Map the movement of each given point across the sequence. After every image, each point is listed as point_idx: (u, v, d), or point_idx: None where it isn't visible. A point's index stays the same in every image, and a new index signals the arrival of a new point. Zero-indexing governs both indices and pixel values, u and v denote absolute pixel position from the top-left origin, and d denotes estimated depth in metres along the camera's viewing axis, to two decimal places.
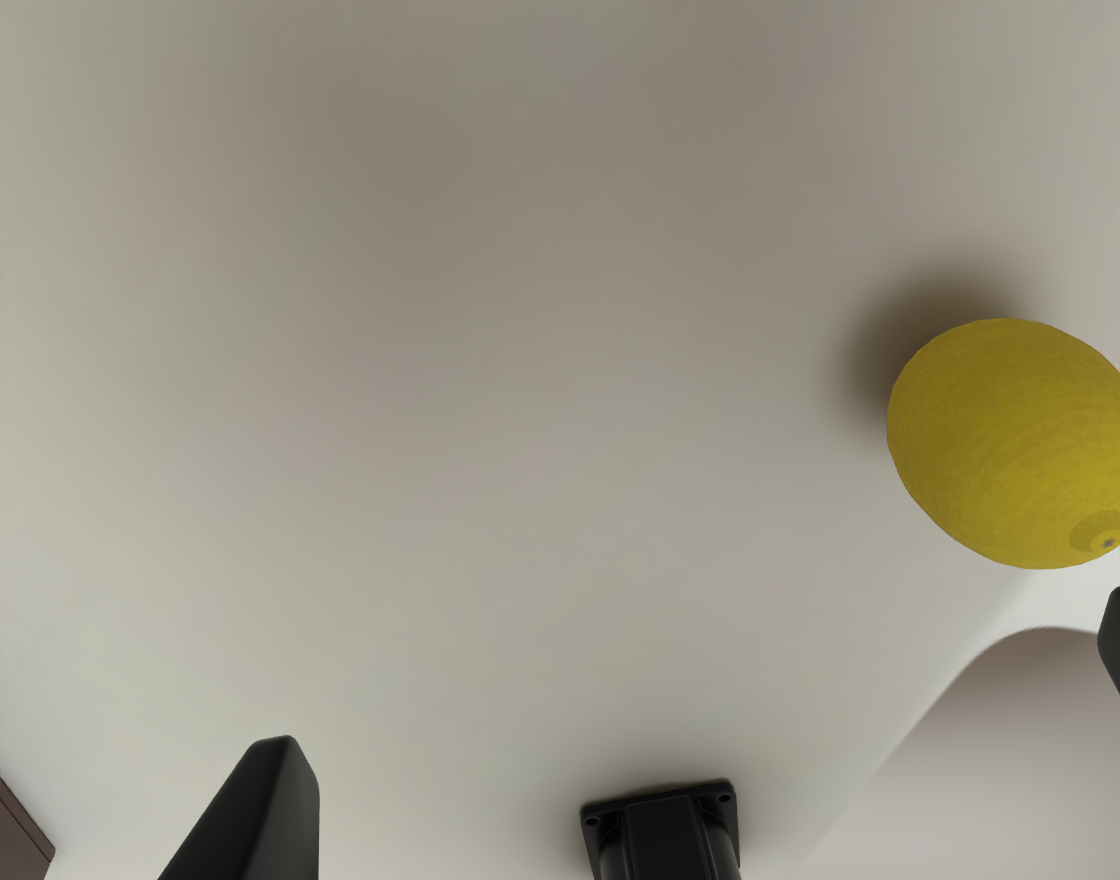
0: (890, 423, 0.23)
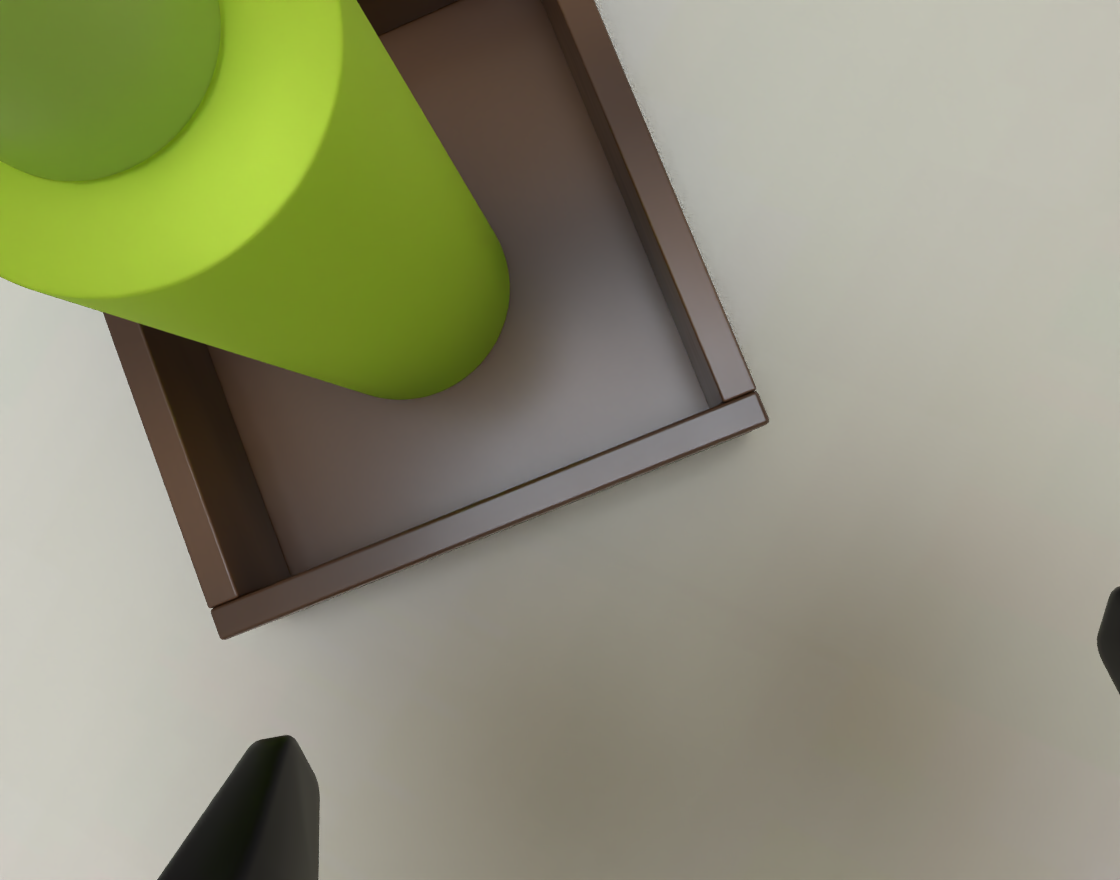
0: None
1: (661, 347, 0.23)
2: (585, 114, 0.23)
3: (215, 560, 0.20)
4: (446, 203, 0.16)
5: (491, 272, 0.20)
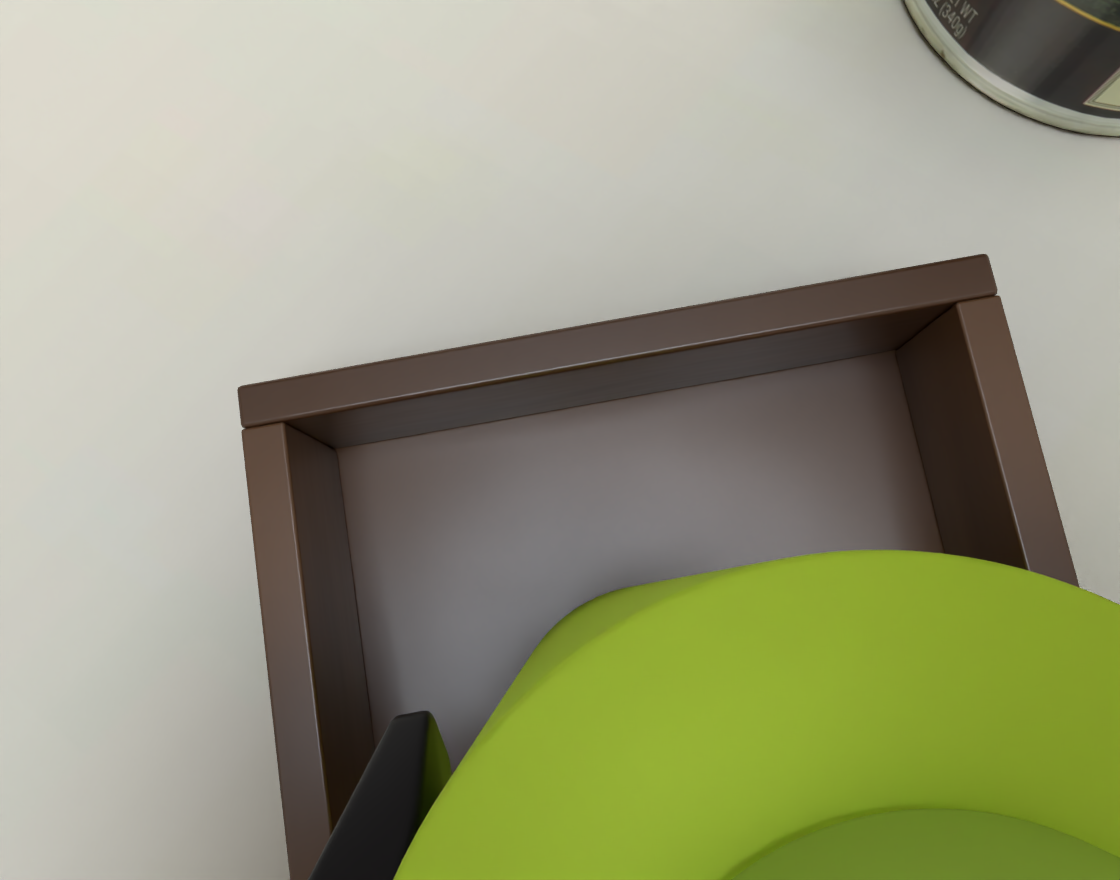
0: None
1: None
2: None
3: None
4: None
5: None
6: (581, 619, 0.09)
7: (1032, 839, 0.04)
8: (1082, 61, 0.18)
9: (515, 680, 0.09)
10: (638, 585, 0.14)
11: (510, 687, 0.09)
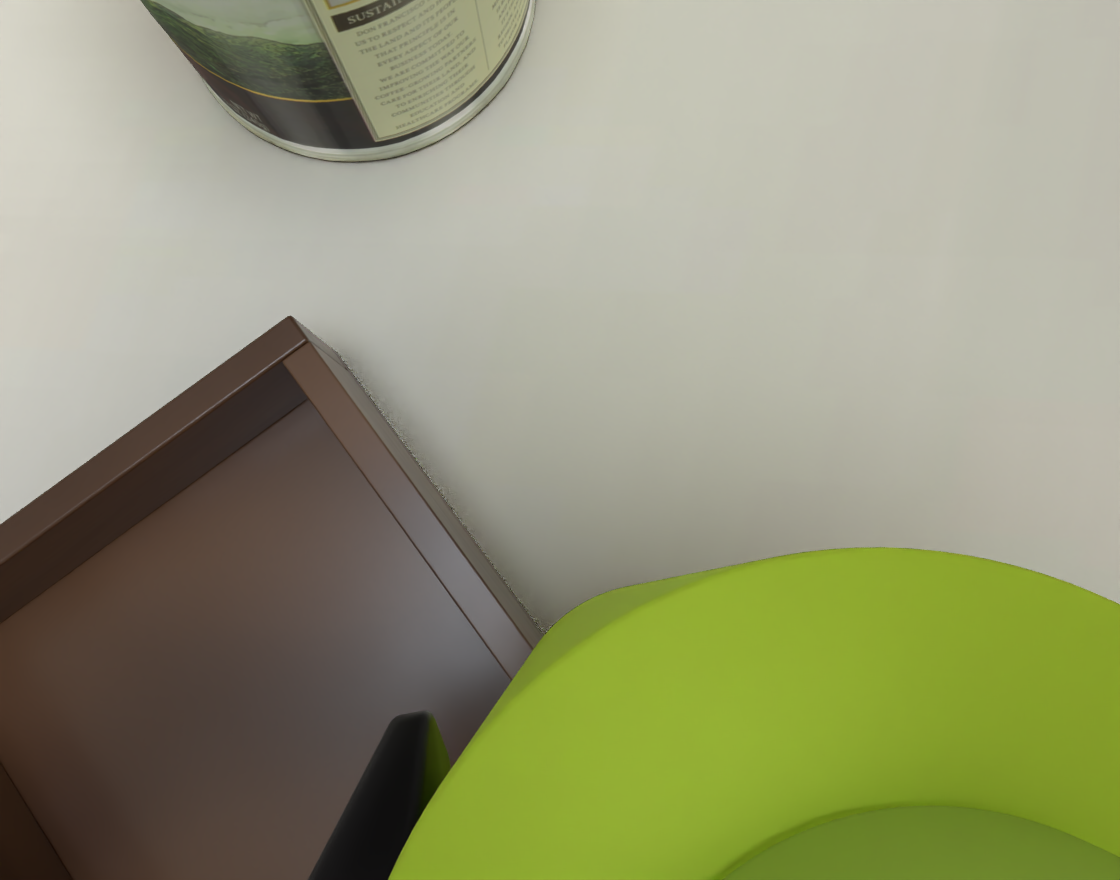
0: None
1: None
2: None
3: None
4: None
5: None
6: (579, 618, 0.09)
7: (1025, 837, 0.04)
8: (337, 123, 0.22)
9: (513, 679, 0.09)
10: None
11: (508, 686, 0.09)
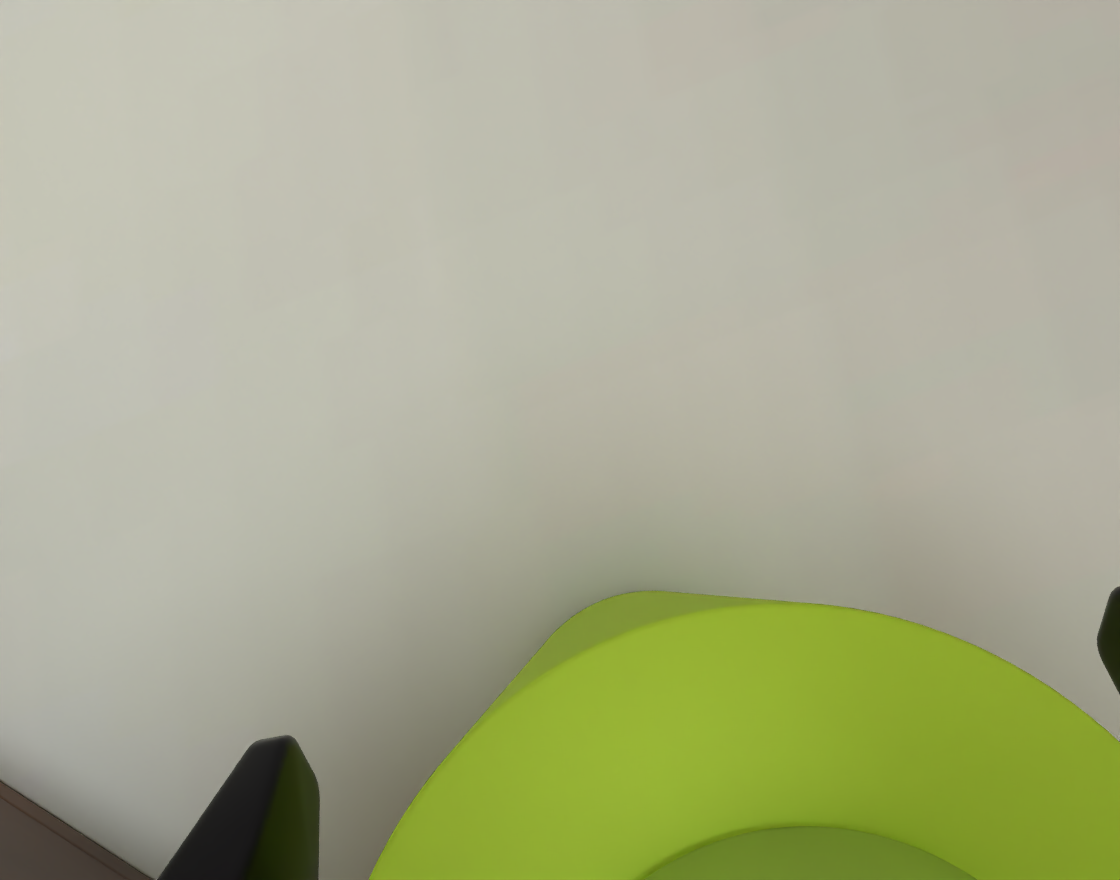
0: None
1: None
2: None
3: None
4: None
5: None
6: (561, 638, 0.10)
7: (869, 855, 0.04)
8: None
9: None
10: (630, 596, 0.15)
11: None
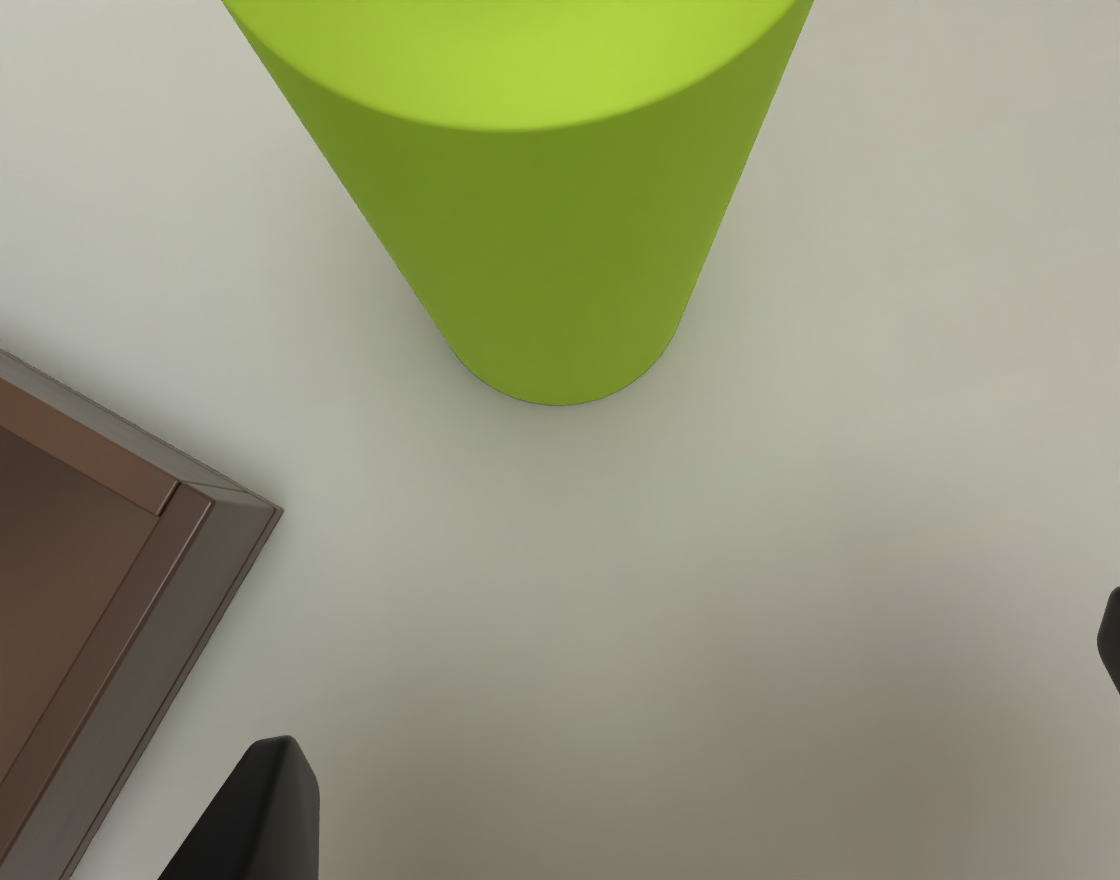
0: None
1: None
2: None
3: None
4: None
5: None
6: None
7: None
8: None
9: None
10: None
11: None
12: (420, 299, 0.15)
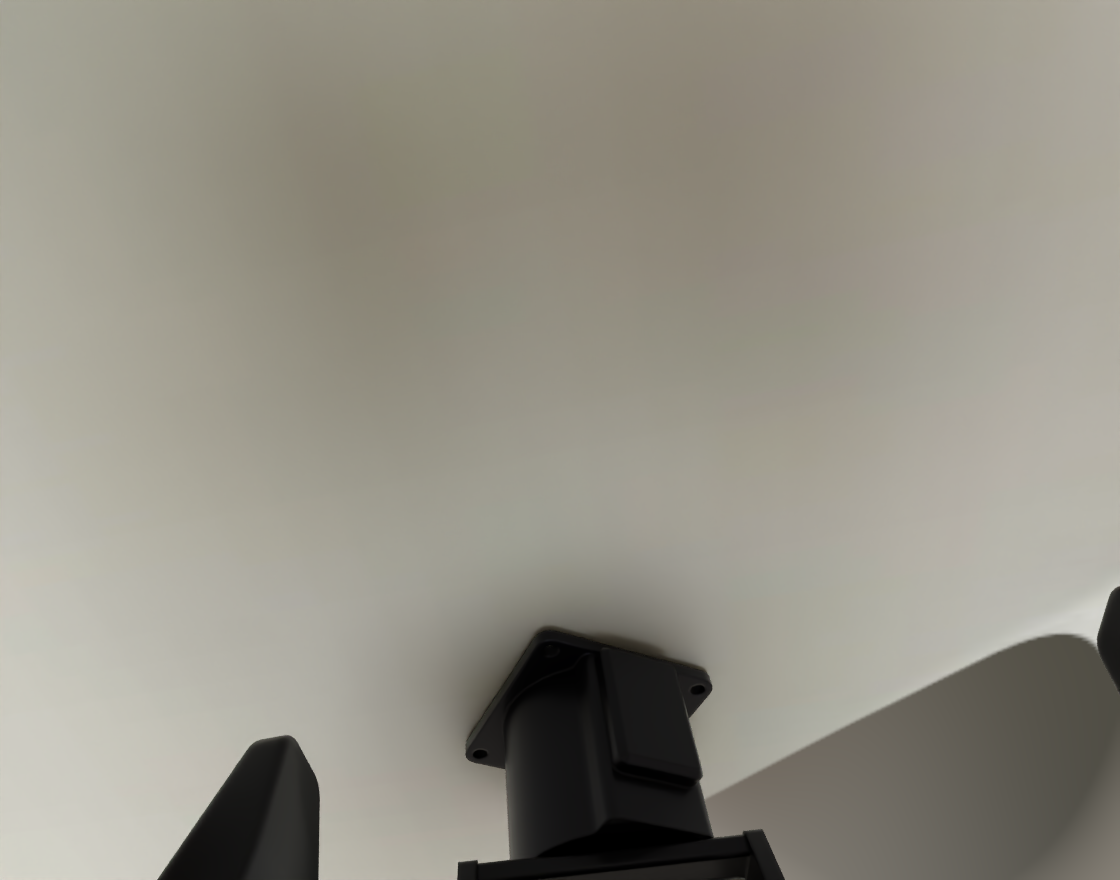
0: None
1: None
2: None
3: None
4: None
5: None
6: None
7: None
8: None
9: None
10: None
11: None
12: None
